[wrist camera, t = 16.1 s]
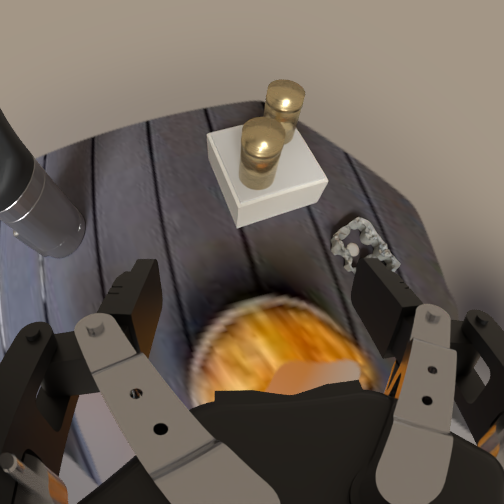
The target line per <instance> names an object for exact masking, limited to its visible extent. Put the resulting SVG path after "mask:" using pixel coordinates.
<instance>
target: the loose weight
mask: <svg viewBox="0 0 504 504" xmlns="http://www.w3.org/2000/svg"><path fill="white" fill-rule="evenodd" d="M285 136H286V133H285V129H284V127H283V126H282V125H281V124H280V123H279V122H278V121H276V120H274V119H271V118H268V117H255V118H252V119H250V120H248V121H247V122H246V123H245V124H244V125H243V128H242V136H241V150H240V163H239V179H240V181H241V182H242V184H243V185H244V186H246V187H247V188H250V189H253V190H263V189H266V188H268V187H269V186H271V185H272V183H273V182H274V179H275V175H276V171H277V167H278V163H279V159H280V155H281V152H282V149H283V146H284V140H285Z"/></svg>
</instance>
